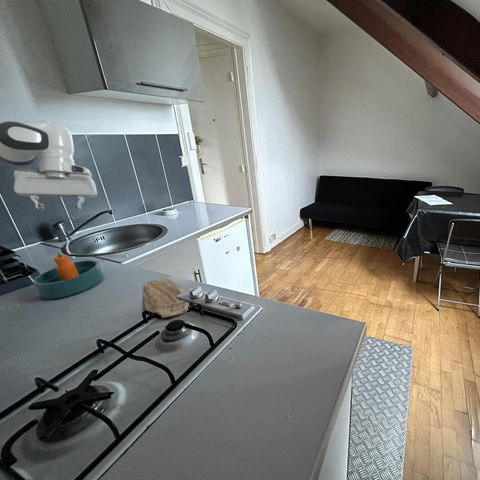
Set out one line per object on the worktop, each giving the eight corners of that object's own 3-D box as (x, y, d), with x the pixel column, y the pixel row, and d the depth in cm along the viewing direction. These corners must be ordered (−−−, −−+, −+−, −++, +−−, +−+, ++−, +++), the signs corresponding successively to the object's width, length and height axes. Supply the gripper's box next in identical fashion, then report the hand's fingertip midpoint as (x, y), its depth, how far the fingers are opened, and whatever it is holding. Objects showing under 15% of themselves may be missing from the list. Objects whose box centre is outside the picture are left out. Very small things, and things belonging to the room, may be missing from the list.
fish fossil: (131, 289, 80) (130, 286, 79) (167, 277, 87) (166, 274, 86) (162, 323, 63) (160, 319, 63) (203, 305, 70) (202, 301, 70)
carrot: (68, 289, 81) (51, 256, 77) (63, 286, 83) (46, 254, 79) (84, 282, 84) (69, 250, 80) (79, 279, 86) (64, 248, 82)
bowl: (52, 305, 74) (43, 289, 72) (34, 292, 82) (26, 277, 79) (112, 280, 86) (106, 265, 84) (92, 270, 93) (86, 257, 91)
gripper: (8, 163, 82) (10, 206, 81) (93, 169, 93) (95, 207, 92) (18, 170, 87) (19, 211, 86) (97, 174, 98) (99, 211, 97)
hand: (59, 209), depth 89 cm, fingers open, 8 cm apart
